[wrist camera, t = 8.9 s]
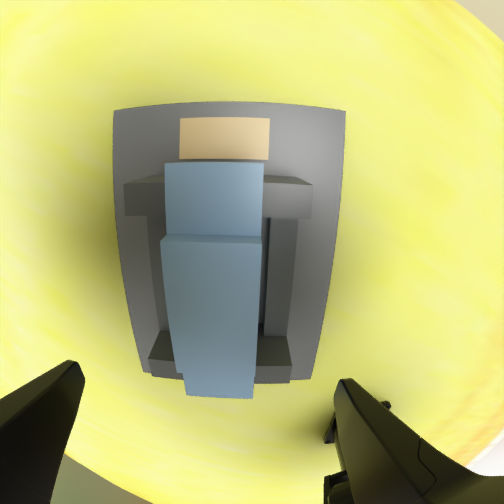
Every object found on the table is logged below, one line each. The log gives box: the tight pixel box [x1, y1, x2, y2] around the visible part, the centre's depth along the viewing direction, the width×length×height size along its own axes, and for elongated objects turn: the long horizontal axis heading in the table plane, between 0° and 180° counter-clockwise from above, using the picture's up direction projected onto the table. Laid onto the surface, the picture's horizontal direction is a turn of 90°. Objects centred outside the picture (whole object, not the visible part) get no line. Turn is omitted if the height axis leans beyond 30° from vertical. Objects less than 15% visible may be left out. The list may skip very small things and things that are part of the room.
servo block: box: [160, 162, 264, 399], centre depth 15 cm, size 13×4×6 cm, turn 178°
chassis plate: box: [113, 102, 346, 384], centre depth 16 cm, size 20×14×5 cm
